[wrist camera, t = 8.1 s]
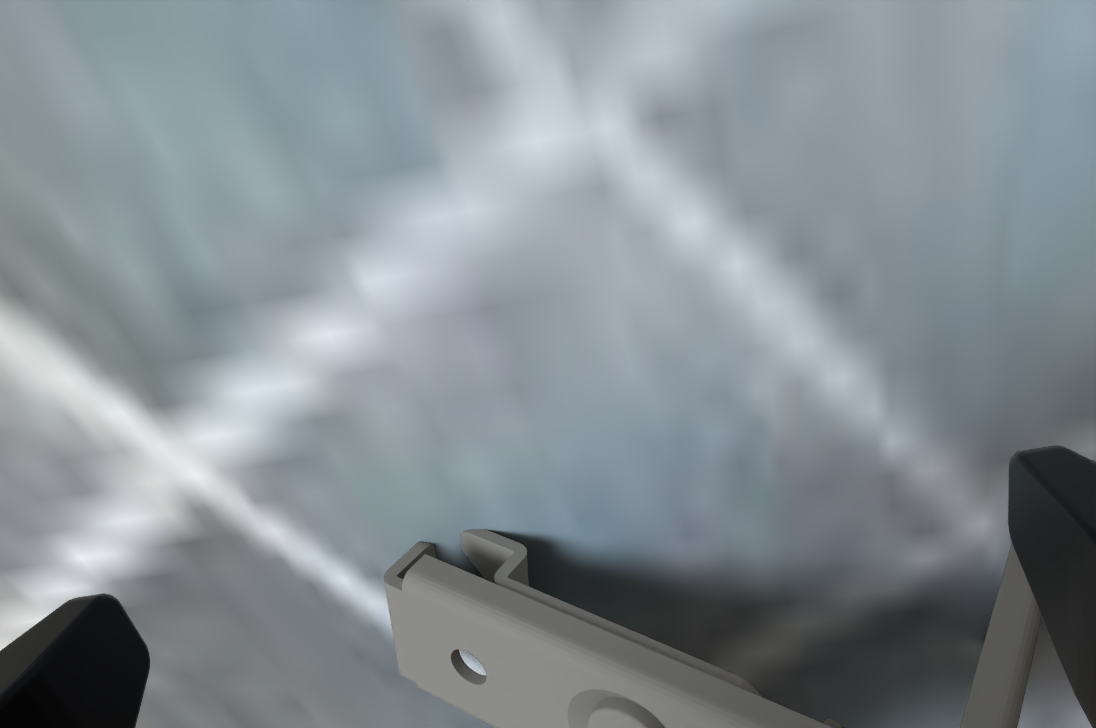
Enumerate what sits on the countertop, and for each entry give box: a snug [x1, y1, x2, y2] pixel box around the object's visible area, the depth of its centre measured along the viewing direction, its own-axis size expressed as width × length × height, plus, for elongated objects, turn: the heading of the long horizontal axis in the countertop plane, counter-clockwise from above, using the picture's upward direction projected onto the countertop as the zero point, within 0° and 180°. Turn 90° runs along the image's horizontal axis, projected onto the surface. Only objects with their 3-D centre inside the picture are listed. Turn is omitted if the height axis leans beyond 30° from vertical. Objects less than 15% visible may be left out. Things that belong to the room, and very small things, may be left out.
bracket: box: [384, 529, 1042, 728], centre depth 26 cm, size 10×14×10 cm
